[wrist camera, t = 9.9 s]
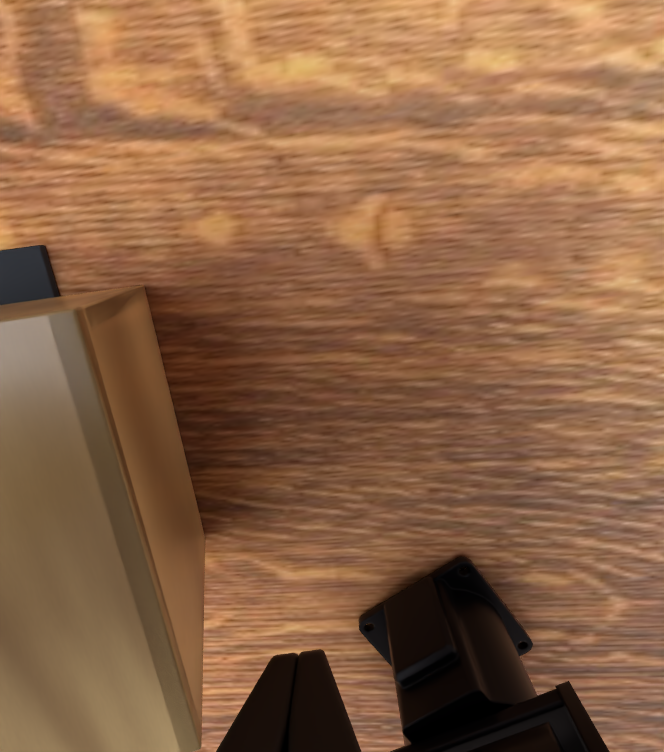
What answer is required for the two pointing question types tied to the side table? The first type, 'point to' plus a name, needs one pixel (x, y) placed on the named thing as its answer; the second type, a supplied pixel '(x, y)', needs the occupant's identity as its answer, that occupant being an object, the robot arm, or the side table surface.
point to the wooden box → (95, 534)
